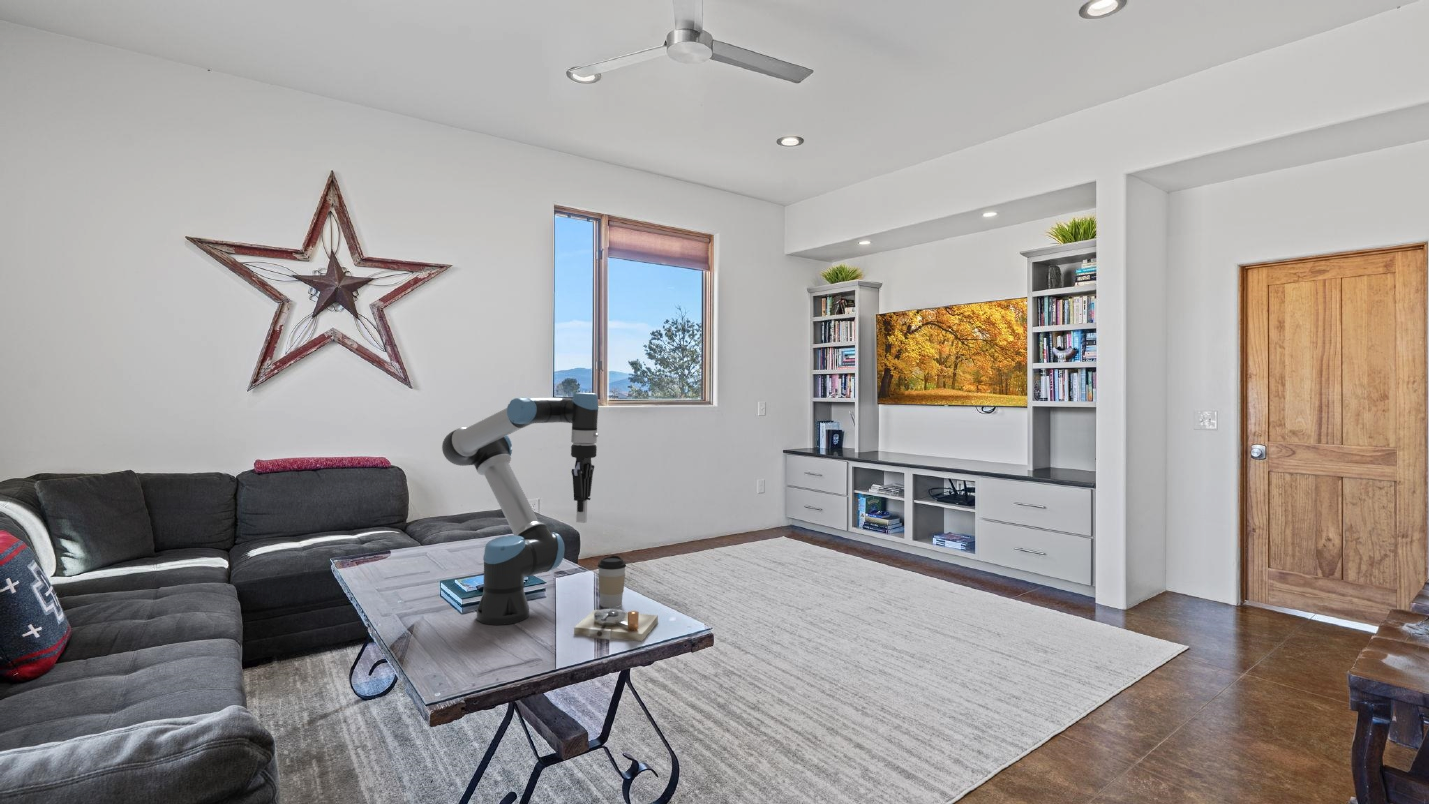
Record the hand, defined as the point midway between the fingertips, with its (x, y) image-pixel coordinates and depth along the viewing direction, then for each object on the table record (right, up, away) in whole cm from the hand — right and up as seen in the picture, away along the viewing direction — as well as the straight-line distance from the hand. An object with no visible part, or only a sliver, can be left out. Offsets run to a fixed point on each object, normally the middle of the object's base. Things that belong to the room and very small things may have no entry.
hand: (581, 521), depth 206 cm
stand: (+12, -30, -7) cm, 33 cm away
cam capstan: (+12, -27, -10) cm, 32 cm away
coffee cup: (+7, -29, +14) cm, 33 cm away
